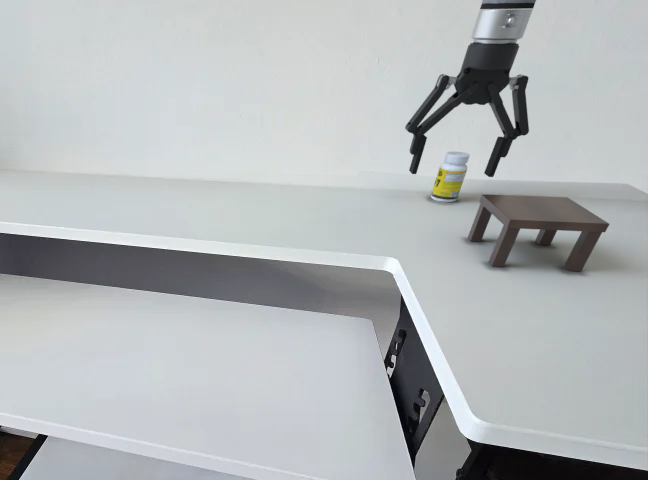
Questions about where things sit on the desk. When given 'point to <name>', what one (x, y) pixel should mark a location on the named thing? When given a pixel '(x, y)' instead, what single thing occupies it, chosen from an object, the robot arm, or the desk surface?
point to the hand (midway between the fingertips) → (450, 174)
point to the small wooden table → (537, 224)
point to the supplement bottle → (450, 177)
